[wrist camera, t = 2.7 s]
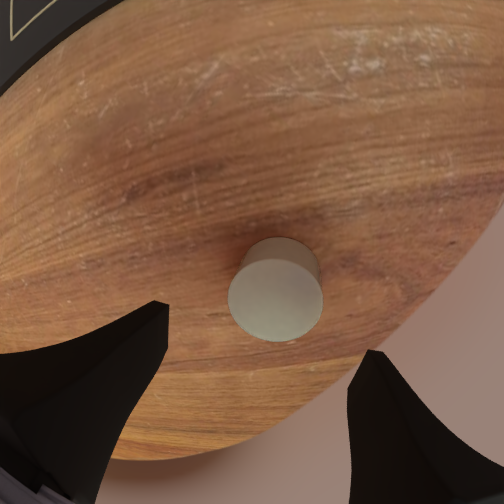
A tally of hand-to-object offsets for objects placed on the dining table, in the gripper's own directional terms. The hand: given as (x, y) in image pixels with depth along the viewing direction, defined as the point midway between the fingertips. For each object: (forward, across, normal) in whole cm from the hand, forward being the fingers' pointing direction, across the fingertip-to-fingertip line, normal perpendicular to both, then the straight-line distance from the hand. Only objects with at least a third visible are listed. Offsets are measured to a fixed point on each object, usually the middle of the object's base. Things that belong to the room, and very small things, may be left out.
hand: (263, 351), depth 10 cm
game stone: (+7, 0, 0) cm, 7 cm away
